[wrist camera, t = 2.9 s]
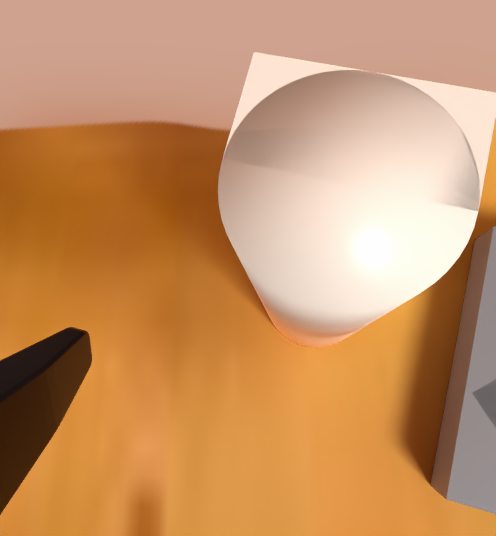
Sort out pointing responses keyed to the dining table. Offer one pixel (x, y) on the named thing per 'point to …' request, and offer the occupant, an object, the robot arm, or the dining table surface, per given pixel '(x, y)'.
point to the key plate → (472, 392)
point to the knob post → (349, 190)
